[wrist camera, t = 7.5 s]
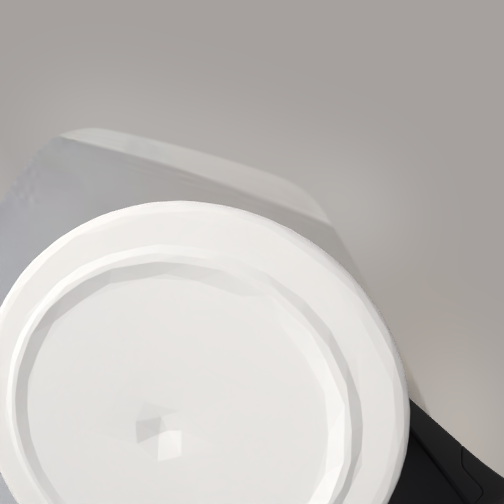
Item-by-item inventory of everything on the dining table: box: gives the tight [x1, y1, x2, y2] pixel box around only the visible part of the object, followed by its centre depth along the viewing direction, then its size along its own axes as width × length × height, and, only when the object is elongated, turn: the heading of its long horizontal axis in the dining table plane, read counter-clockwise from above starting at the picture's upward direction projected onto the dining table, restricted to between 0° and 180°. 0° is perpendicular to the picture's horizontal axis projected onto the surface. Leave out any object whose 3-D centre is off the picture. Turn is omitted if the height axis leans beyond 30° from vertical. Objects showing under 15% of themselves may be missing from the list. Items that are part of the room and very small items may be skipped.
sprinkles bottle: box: [0, 201, 410, 504], centre depth 8 cm, size 5×5×14 cm
